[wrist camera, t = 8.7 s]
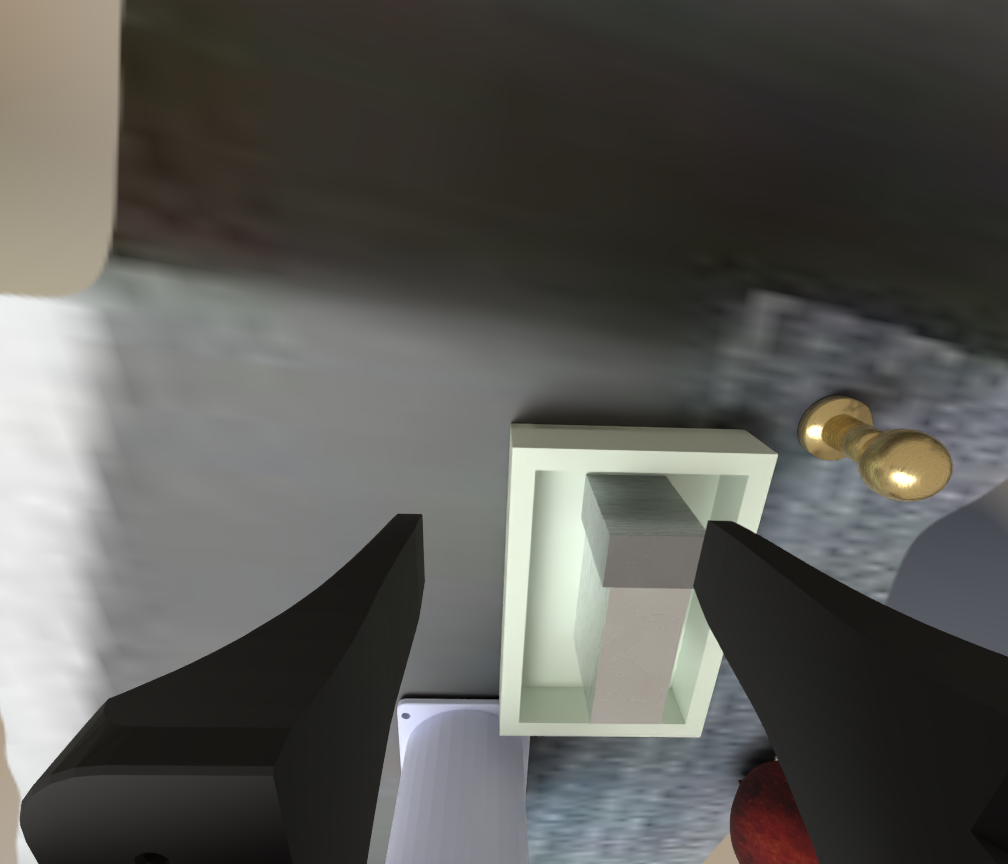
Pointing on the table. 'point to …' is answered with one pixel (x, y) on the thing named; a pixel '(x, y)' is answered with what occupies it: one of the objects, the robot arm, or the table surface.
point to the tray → (559, 550)
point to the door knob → (876, 449)
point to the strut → (633, 594)
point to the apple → (768, 820)
